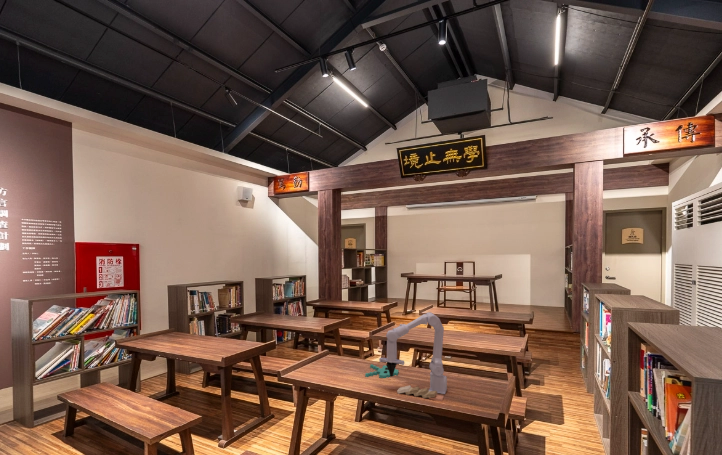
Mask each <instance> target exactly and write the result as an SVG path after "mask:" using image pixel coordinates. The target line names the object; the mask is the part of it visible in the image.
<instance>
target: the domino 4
mask: <svg viewBox="0 0 722 455" xmlns="http://www.w3.org/2000/svg"><path fill="white" fill-rule="evenodd" d="M444 398H445V397H444V395H440V394H437V395H436V396H435V397H429V398H428V400H432V401H439V402H442V401H443V400H444Z"/></svg>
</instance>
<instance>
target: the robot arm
mask: <svg viewBox="0 0 722 455" xmlns="http://www.w3.org/2000/svg"><path fill="white" fill-rule="evenodd" d="M420 325H425V326H426V325H430V326H431V327H432V328H433V329H434V335H433V337H434V338H433V350H432V356H431V360H430V361H429V362H430V363H429V366H428V367H429V370H430V372H429V388H428V391H437V394H442V395H445V394H446V393H447V391H448V385H447V384H448V379H447V378H448V377H447V375H444V371H445V370H444V366H443V358H442V357H443V346H444V344H443V343H444V331H445V328H444V325H443V324H442V322H441V319H440V317H438V316H437V315H436V314H434V313H433V312H431V311H428V312H426V313H424V314H422V315H420V316H418V317H417V318H416V319H414V320H412V321H410V322H408V323H407V324H405V323H400V324H399V326H397V327H395V328H392V329H389V330H388V331H387V332H386V335H385V337H386V338H387V340H386V357H380V358H379V359H378V360H379V361H378V362H379V363H386V364H385V365H386V366H387V368H388V370H389V373H390V378H391V377H392V376H393V374H394V370H395V368H396V367H397V365H402V366H404V365H405V360H401V359H398V351H397V350H398V348H397V347H398V346H397V345H398V344H397V341H398V339H400V338H401V337H403V336H405V335H407V334H409V332H410V330H412V329H414V328H416V327H418V326H420Z"/></svg>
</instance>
